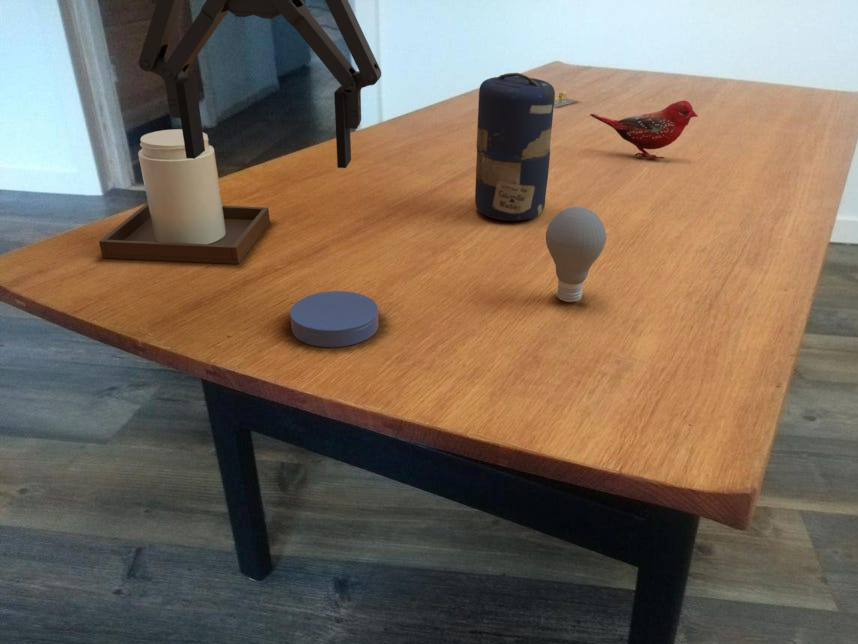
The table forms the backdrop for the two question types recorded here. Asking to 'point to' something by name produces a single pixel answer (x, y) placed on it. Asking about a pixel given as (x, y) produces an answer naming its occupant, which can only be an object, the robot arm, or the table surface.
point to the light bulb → (574, 248)
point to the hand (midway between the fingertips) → (270, 159)
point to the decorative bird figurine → (653, 127)
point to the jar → (181, 189)
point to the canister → (513, 146)
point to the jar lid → (334, 319)
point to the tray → (140, 243)
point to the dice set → (562, 99)
